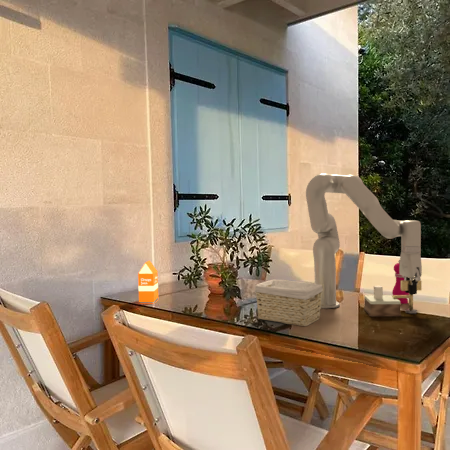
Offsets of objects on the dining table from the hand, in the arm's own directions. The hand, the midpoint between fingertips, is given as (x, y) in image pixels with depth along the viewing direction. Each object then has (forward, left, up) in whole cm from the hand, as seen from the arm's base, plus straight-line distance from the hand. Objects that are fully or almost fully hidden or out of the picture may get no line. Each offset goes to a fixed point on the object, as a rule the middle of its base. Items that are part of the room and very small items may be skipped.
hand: (410, 292), depth 195 cm
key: (-2, 0, -7) cm, 7 cm away
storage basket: (-52, -11, -9) cm, 54 cm away
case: (-12, 0, -8) cm, 15 cm away
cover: (-12, 0, -3) cm, 12 cm away
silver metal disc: (0, 0, -8) cm, 8 cm away
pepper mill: (+1, +19, -9) cm, 21 cm away
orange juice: (-119, +23, -9) cm, 121 cm away
